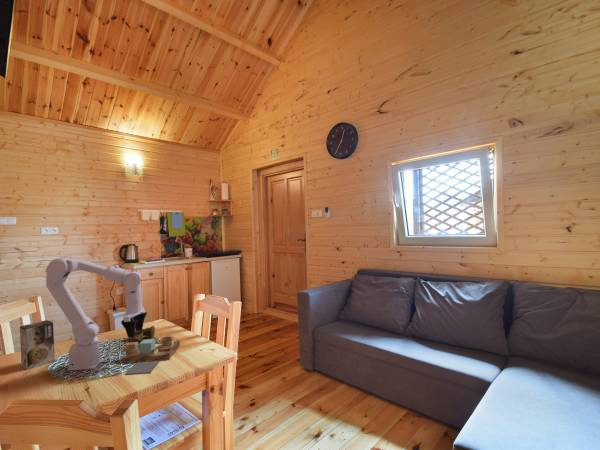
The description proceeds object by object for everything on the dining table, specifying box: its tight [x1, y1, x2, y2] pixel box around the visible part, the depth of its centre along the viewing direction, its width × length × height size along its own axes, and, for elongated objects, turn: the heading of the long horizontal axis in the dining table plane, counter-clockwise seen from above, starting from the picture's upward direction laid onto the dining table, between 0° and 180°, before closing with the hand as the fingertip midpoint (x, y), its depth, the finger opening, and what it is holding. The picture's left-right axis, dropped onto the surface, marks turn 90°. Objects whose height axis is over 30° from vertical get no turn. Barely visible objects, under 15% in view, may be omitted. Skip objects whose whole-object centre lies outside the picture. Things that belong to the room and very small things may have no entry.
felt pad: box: [124, 360, 160, 376], centre depth 117 cm, size 9×9×1 cm
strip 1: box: [124, 342, 158, 356], centre depth 127 cm, size 12×4×5 cm, turn 95°
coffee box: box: [19, 319, 56, 370], centre depth 124 cm, size 9×6×16 cm
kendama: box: [127, 325, 156, 344], centre depth 146 cm, size 6×10×20 cm
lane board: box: [121, 340, 181, 364], centre depth 130 cm, size 18×14×2 cm
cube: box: [139, 338, 156, 355], centre depth 127 cm, size 4×4×4 cm
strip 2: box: [155, 334, 175, 348], centre depth 134 cm, size 11×4×5 cm, turn 95°
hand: (135, 333), depth 127 cm, fingers open, 7 cm apart
